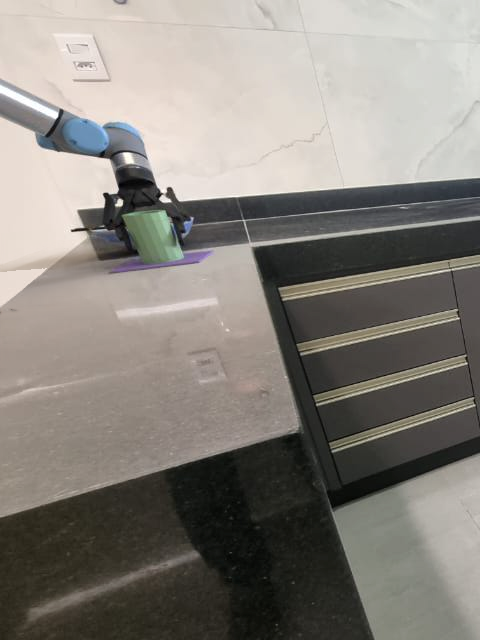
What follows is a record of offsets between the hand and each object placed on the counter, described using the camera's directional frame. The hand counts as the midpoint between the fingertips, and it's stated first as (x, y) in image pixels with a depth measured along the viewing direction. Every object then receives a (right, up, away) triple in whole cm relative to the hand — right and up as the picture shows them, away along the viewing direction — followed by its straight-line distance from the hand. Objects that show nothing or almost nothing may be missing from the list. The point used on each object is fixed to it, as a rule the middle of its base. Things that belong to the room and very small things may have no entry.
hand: (156, 246), depth 132 cm
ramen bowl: (-20, +4, +21) cm, 29 cm away
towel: (-2, -3, +4) cm, 6 cm away
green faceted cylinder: (-2, -3, +4) cm, 5 cm away
